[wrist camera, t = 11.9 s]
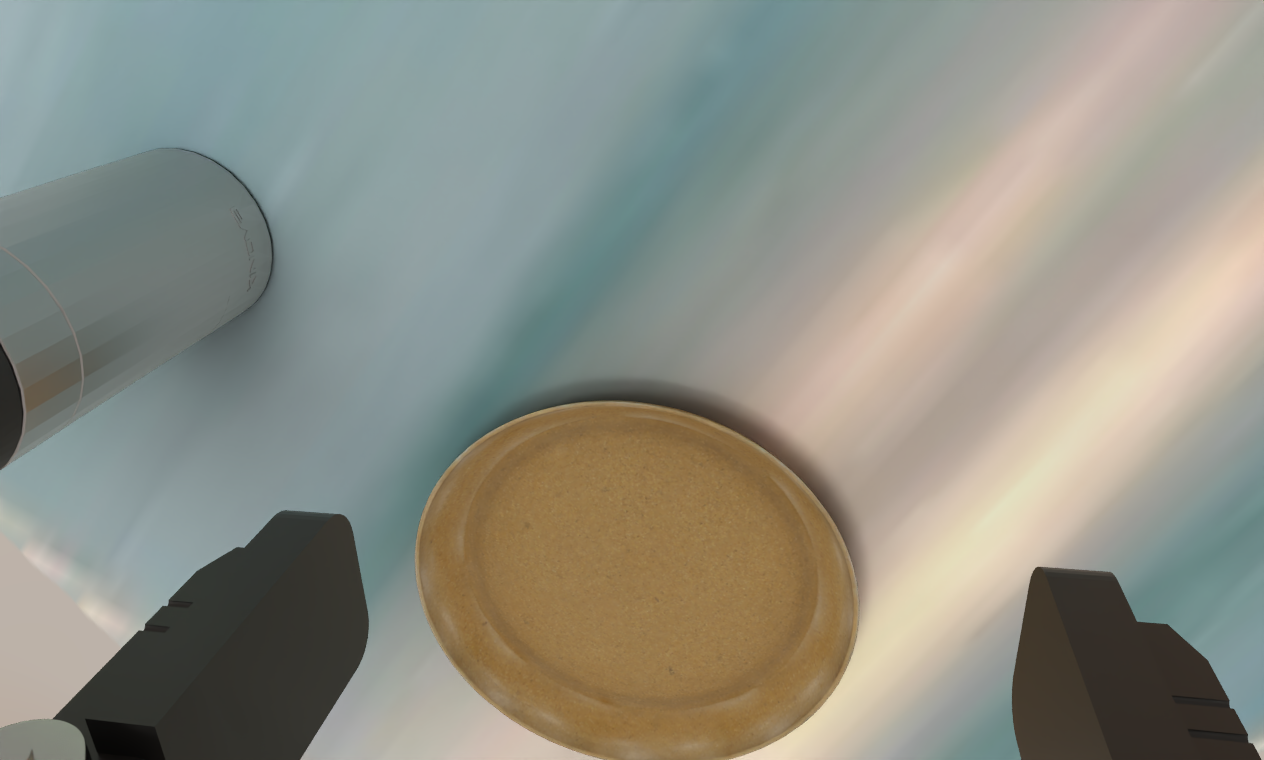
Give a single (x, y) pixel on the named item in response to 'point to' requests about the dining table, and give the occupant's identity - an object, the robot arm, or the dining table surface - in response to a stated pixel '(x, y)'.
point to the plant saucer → (637, 582)
